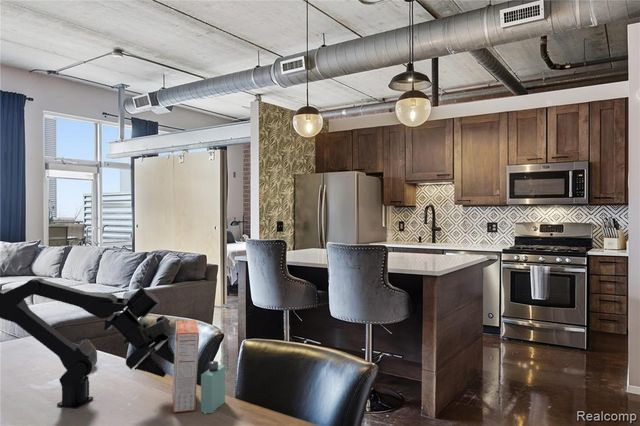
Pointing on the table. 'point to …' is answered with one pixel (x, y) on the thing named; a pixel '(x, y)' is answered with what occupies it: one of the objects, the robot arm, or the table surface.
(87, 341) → the vase
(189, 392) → the cracker box
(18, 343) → the table surface
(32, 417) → the table surface
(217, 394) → the teal flask bottle
